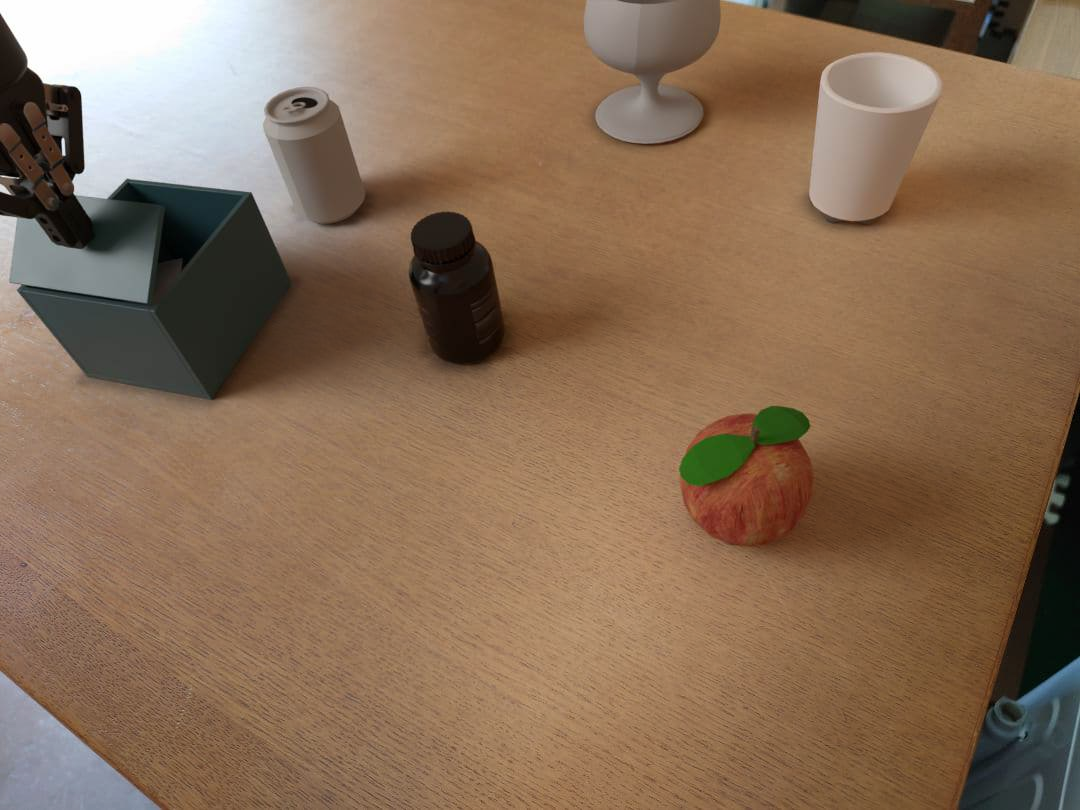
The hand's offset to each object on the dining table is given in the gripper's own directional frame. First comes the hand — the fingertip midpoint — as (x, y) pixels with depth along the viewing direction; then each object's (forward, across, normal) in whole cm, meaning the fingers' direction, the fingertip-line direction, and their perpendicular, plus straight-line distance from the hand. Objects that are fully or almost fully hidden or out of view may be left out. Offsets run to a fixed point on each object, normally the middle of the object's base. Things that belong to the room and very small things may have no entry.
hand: (79, 241), depth 58 cm
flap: (+1, 0, 0) cm, 1 cm away
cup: (+15, +33, -57) cm, 67 cm away
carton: (+14, +5, 0) cm, 15 cm away
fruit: (+14, -4, -51) cm, 53 cm away
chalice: (+15, +46, -35) cm, 59 cm away
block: (+11, +7, +3) cm, 14 cm away
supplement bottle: (+14, +9, -26) cm, 31 cm away
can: (+14, +24, -5) cm, 29 cm away
